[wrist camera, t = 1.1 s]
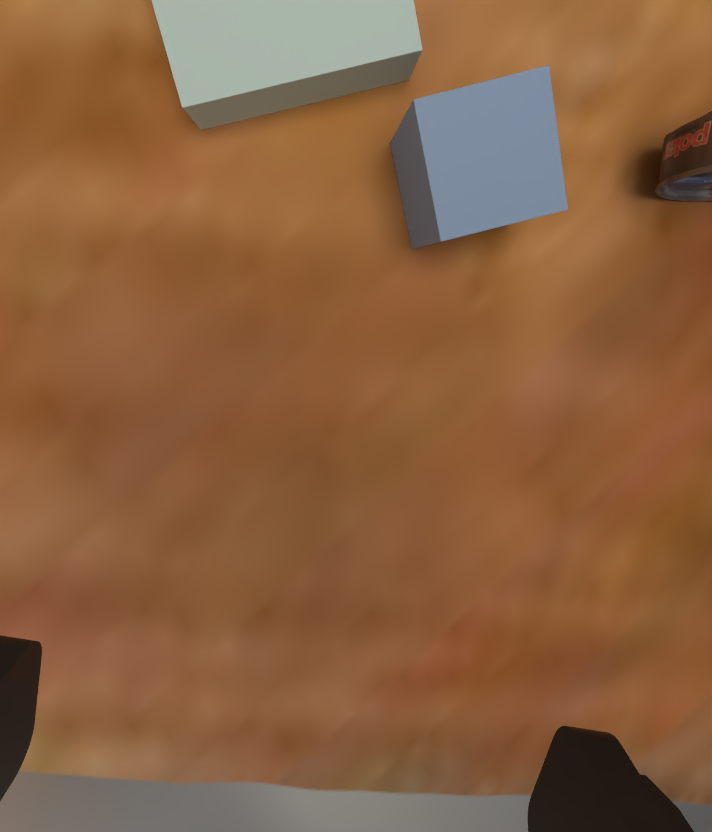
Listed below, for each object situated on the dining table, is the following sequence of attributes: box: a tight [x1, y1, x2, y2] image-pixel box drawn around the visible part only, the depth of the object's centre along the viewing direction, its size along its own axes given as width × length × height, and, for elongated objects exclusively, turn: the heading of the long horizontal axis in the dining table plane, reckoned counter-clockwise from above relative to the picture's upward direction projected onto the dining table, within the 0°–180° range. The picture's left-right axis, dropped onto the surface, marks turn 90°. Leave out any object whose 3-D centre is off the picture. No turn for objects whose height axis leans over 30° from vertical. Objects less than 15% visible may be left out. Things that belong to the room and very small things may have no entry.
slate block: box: [390, 65, 568, 249], centre depth 24 cm, size 5×5×7 cm
